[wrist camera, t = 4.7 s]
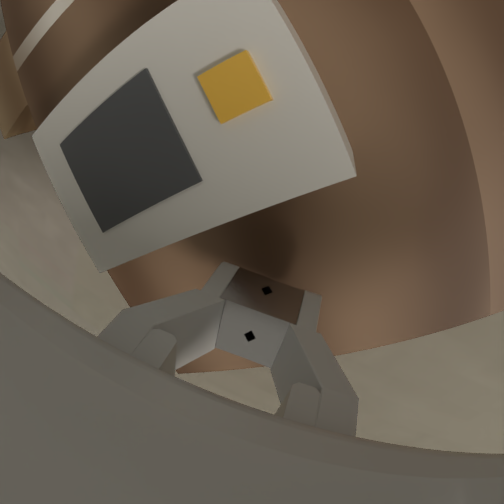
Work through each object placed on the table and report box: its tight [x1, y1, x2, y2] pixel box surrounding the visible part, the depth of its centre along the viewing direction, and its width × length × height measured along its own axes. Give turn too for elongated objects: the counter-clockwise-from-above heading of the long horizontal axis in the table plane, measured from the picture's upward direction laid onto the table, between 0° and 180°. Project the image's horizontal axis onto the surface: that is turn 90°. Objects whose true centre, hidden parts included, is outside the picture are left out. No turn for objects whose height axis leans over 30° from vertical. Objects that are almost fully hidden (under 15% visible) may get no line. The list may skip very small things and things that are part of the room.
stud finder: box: [32, 0, 357, 273], centre depth 7 cm, size 7×4×3 cm, turn 116°
